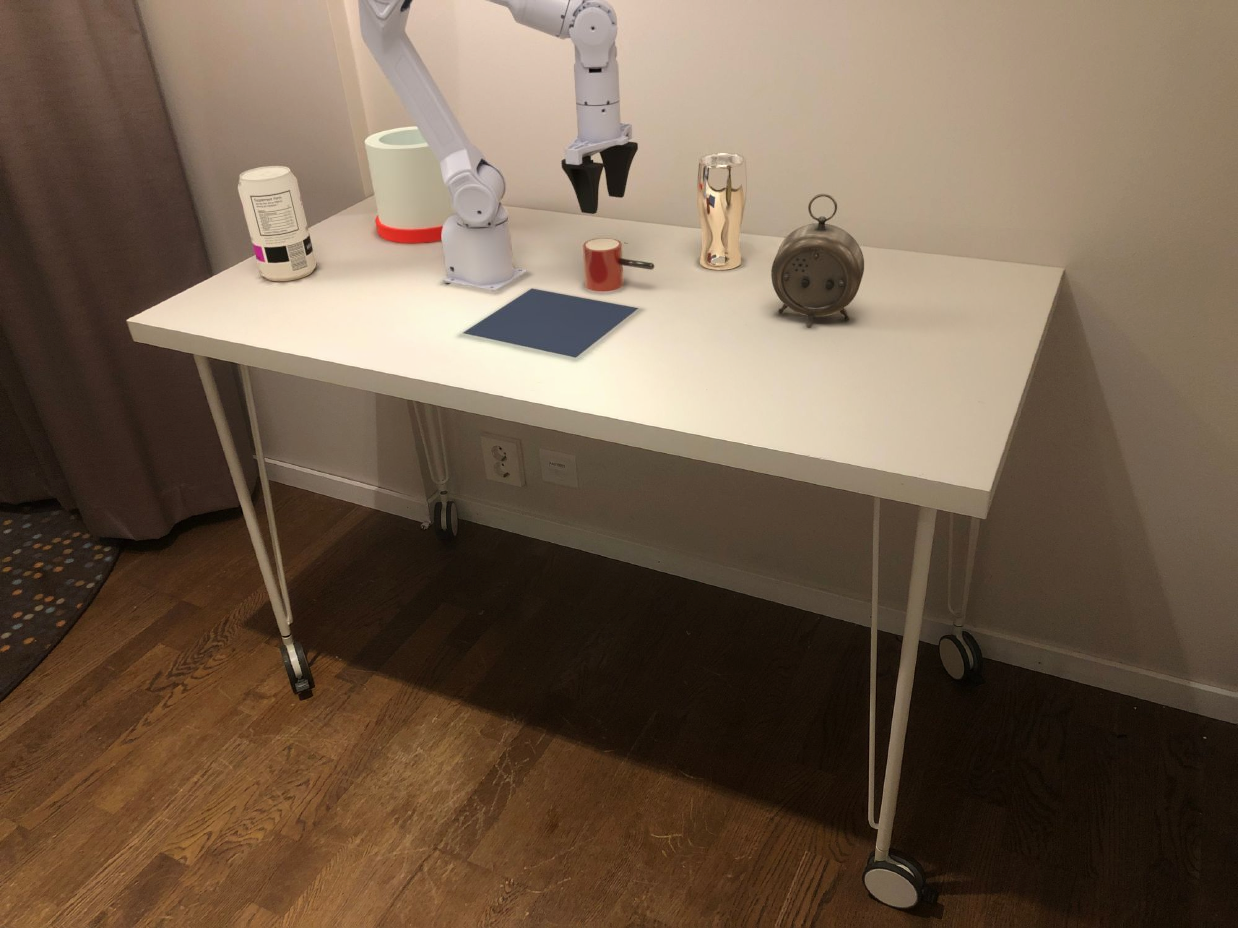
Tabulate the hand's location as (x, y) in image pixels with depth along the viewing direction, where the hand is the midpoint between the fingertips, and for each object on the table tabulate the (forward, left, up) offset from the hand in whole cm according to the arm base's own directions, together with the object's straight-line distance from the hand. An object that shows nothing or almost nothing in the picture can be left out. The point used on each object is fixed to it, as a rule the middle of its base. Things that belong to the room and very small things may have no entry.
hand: (603, 204), depth 129 cm
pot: (+4, -3, -10) cm, 12 cm away
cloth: (+2, -17, -10) cm, 20 cm away
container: (-39, +7, -11) cm, 41 cm away
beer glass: (+13, +11, -11) cm, 20 cm away
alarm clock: (+32, -3, -11) cm, 34 cm away
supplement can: (-45, -18, -11) cm, 50 cm away
